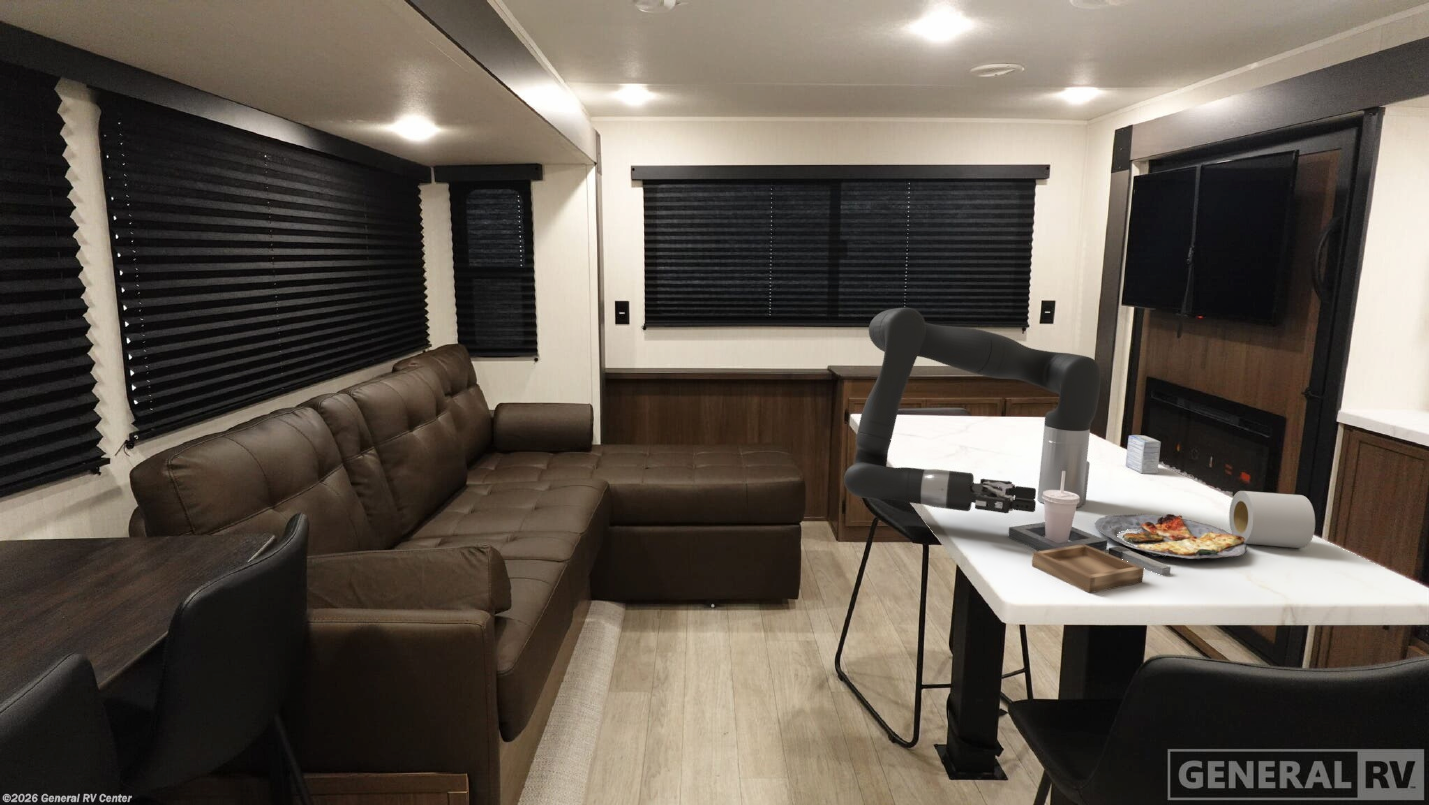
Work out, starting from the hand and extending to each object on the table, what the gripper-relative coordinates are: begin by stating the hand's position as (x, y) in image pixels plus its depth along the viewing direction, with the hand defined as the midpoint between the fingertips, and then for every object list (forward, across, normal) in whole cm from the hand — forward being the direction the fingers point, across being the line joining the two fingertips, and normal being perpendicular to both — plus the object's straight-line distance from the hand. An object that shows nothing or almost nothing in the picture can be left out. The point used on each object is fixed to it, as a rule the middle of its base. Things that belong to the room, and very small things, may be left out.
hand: (1035, 500), depth 144 cm
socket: (+4, 0, +8) cm, 9 cm away
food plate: (+24, +10, +9) cm, 27 cm away
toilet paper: (+42, +18, +8) cm, 46 cm away
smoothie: (+4, 0, +8) cm, 9 cm away
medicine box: (+26, +71, +8) cm, 76 cm away
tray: (+8, -14, +8) cm, 18 cm away
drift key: (+18, -5, +8) cm, 20 cm away
